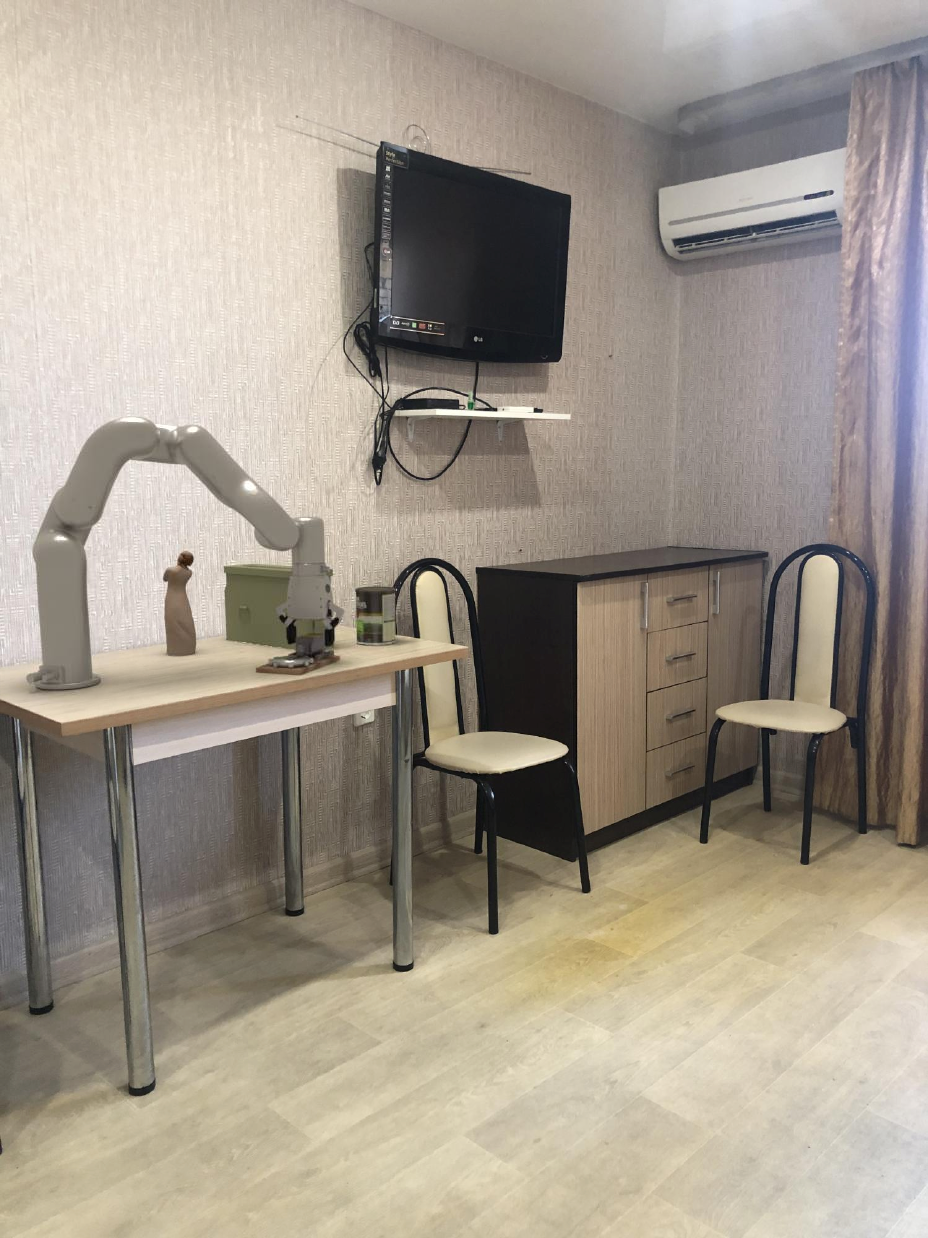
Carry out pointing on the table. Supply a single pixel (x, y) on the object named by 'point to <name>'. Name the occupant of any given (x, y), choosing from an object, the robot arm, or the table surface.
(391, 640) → the coffee can
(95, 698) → the table surface
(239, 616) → the ammunition box
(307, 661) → the sprocket
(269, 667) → the board
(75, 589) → the robot arm
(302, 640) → the charcoal rectangular block
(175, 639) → the figurine
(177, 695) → the table surface
